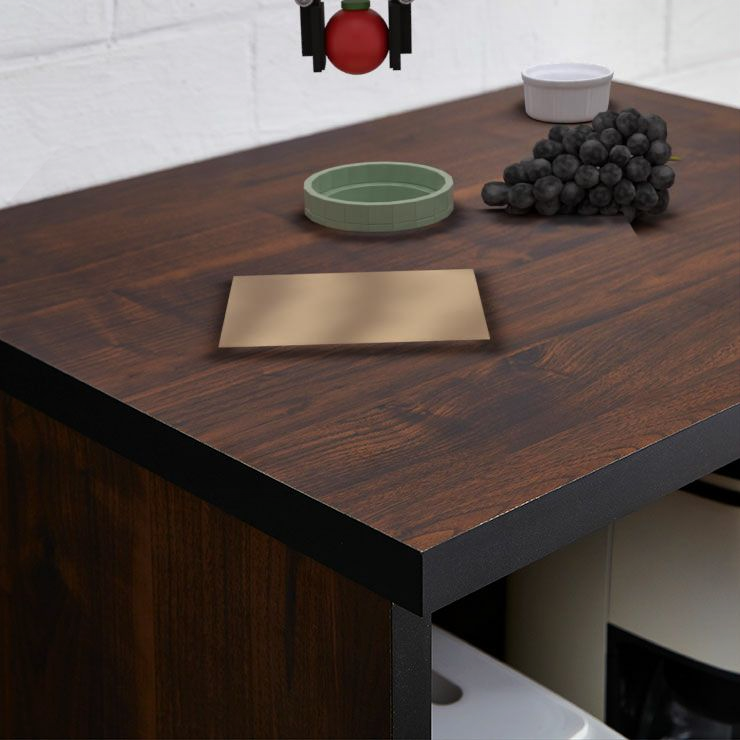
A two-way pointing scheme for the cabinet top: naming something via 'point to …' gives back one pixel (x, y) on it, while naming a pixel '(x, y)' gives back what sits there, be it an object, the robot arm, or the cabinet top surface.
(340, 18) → the tomato
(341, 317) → the serving board
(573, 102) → the ramekin
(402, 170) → the bowl
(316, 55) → the robot arm
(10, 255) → the cabinet top surface
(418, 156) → the cabinet top surface
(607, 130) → the fruit
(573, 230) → the cabinet top surface
